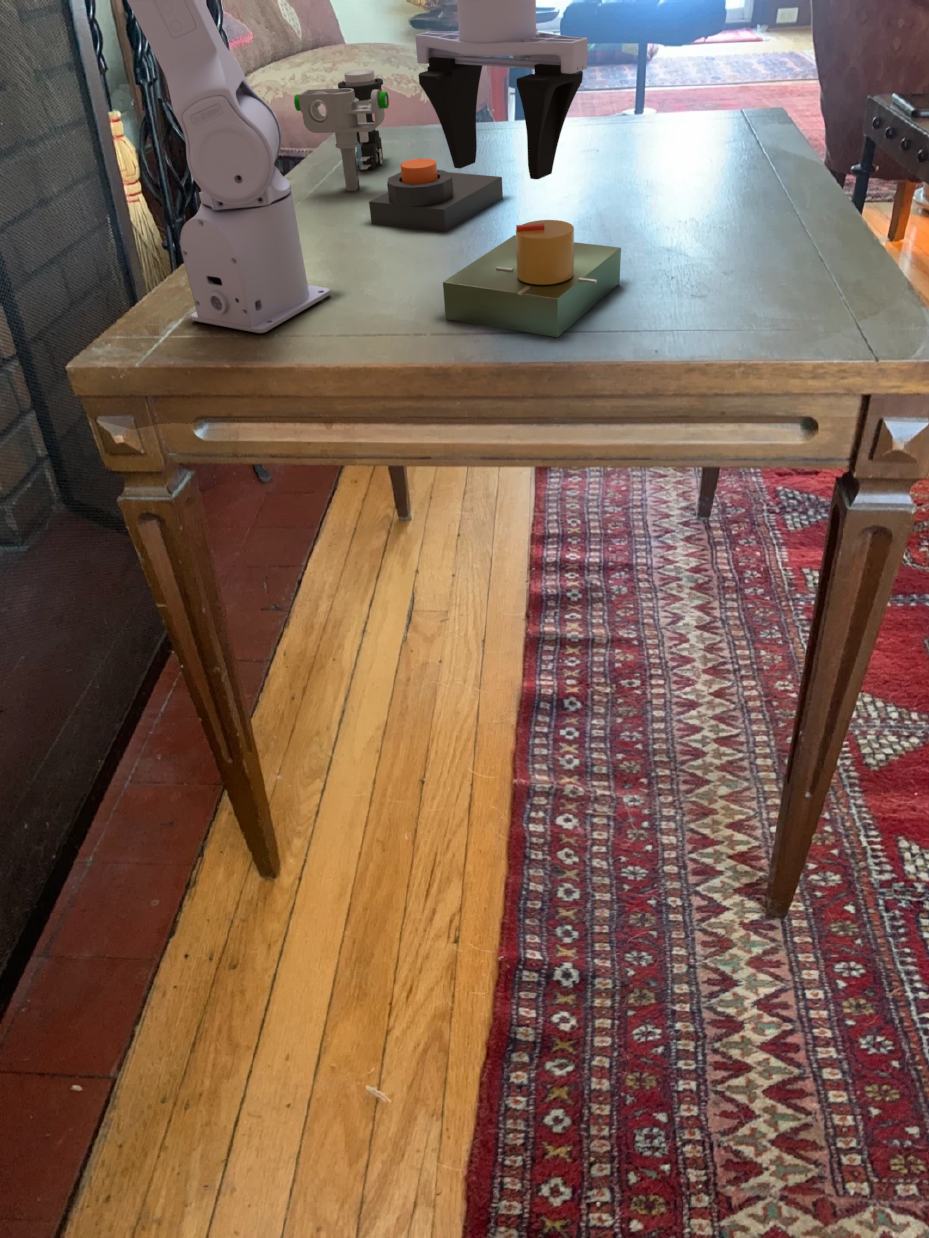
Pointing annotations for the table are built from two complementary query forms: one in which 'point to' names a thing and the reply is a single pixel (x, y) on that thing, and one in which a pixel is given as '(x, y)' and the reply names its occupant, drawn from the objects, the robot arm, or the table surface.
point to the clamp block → (530, 290)
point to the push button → (365, 116)
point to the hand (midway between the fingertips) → (501, 170)
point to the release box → (435, 200)
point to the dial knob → (545, 252)
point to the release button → (419, 171)
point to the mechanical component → (341, 121)
